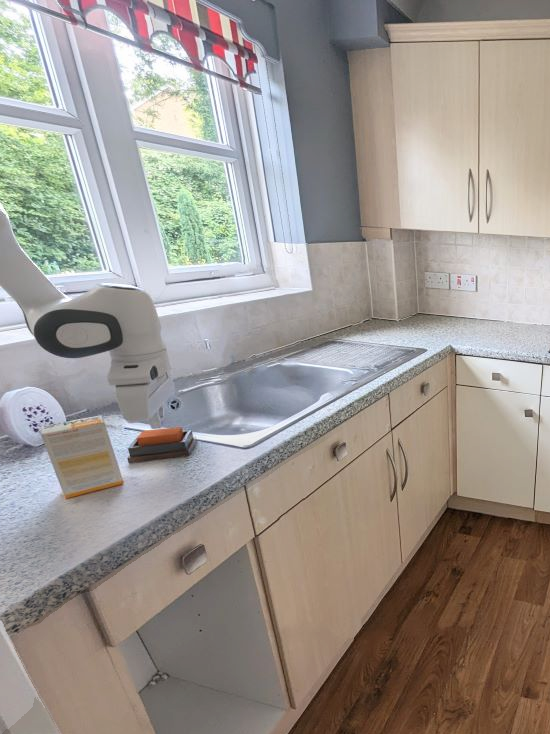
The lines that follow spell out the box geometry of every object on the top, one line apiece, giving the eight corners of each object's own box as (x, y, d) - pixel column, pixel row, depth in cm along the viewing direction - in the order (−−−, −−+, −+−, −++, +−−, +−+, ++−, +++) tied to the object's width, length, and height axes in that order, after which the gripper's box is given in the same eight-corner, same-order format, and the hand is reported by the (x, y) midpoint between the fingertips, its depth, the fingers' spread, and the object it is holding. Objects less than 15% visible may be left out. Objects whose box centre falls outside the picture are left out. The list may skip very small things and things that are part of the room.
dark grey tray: (128, 463, 94) (124, 449, 93) (140, 448, 101) (136, 434, 99) (189, 455, 98) (186, 442, 97) (197, 441, 105) (194, 428, 104)
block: (140, 453, 96) (136, 438, 95) (146, 445, 99) (142, 430, 98) (180, 448, 99) (177, 433, 98) (185, 440, 102) (181, 426, 101)
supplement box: (121, 474, 90) (103, 413, 85) (124, 484, 87) (105, 421, 82) (63, 489, 84) (40, 424, 80) (63, 499, 81) (39, 433, 77)
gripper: (139, 353, 100) (155, 410, 105) (102, 380, 83) (123, 448, 88) (174, 351, 103) (188, 407, 107) (145, 377, 85) (163, 443, 90)
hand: (158, 426), depth 97 cm, fingers closed
